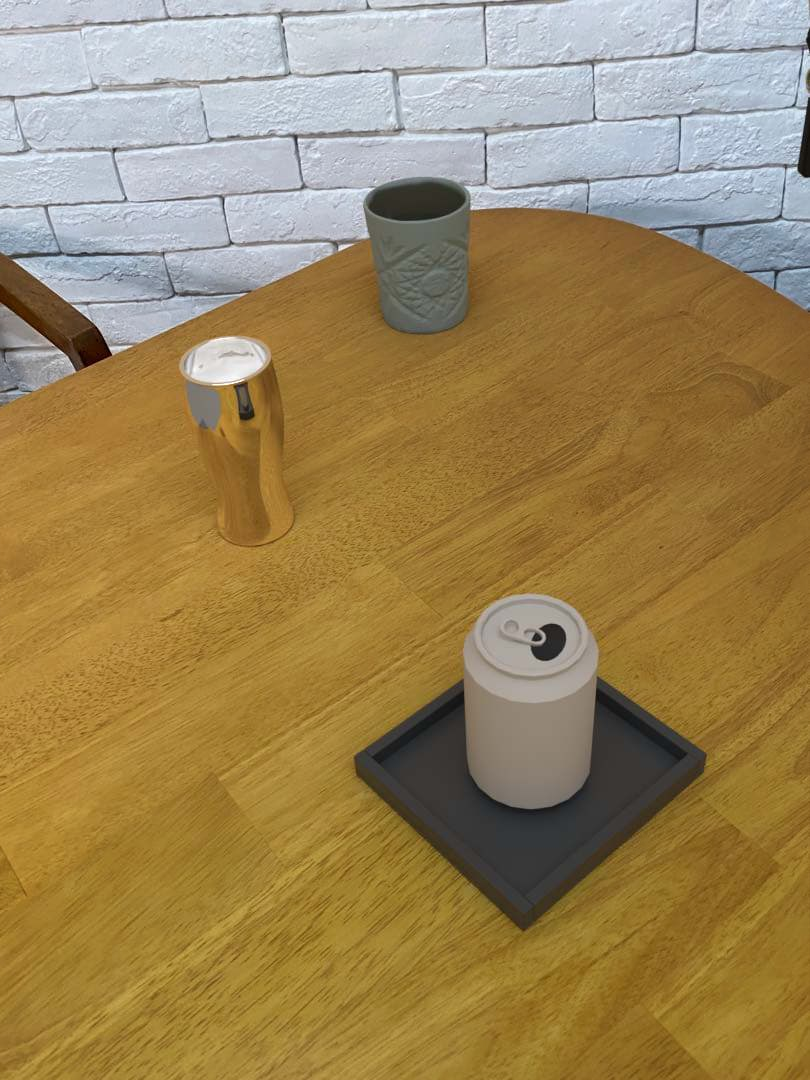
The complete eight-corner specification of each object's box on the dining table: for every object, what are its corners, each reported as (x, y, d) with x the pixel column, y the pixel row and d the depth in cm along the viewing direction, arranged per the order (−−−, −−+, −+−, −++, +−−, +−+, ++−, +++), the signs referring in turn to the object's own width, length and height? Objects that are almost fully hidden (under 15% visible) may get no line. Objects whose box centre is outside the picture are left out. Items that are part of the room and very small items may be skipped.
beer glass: (278, 557, 86) (249, 392, 76) (197, 542, 88) (158, 379, 78) (313, 501, 91) (289, 339, 81) (235, 488, 93) (203, 328, 83)
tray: (531, 647, 78) (531, 628, 76) (704, 772, 69) (707, 753, 68) (355, 774, 70) (353, 756, 69) (523, 932, 62) (523, 914, 60)
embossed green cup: (448, 345, 108) (444, 228, 100) (354, 327, 111) (343, 212, 103) (488, 296, 114) (487, 182, 107) (399, 280, 118) (391, 169, 110)
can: (573, 832, 65) (582, 695, 58) (451, 799, 68) (443, 663, 60) (602, 735, 71) (614, 597, 63) (487, 707, 73) (485, 571, 65)
